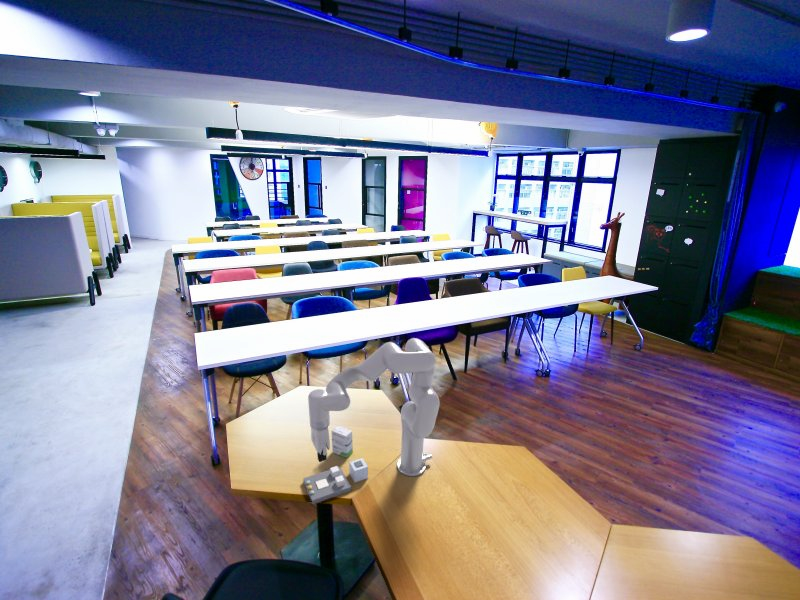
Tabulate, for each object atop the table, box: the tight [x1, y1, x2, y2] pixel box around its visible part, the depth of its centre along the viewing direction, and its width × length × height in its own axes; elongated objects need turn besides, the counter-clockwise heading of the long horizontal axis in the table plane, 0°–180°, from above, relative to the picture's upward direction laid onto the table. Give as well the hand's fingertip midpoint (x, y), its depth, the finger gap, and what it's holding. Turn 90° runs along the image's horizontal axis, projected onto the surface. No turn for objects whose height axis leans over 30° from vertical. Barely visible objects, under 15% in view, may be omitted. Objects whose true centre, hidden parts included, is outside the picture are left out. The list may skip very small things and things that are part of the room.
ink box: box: [331, 425, 354, 459], centre depth 187 cm, size 9×5×12 cm, turn 62°
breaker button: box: [315, 478, 329, 490], centre depth 168 cm, size 4×4×2 cm
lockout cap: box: [348, 457, 369, 483], centre depth 174 cm, size 6×6×6 cm
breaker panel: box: [302, 465, 352, 505], centre depth 168 cm, size 16×13×5 cm
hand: (322, 459), depth 164 cm, fingers closed
